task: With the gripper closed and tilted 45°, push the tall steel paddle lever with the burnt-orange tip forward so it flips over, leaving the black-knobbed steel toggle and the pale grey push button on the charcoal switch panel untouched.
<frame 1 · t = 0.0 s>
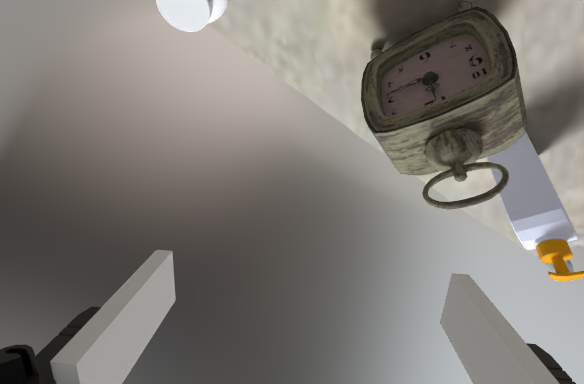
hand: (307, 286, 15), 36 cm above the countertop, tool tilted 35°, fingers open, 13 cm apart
tabletop clock: (423, 46, 43), on the countertop
soap bottle: (512, 148, 56), on the countertop
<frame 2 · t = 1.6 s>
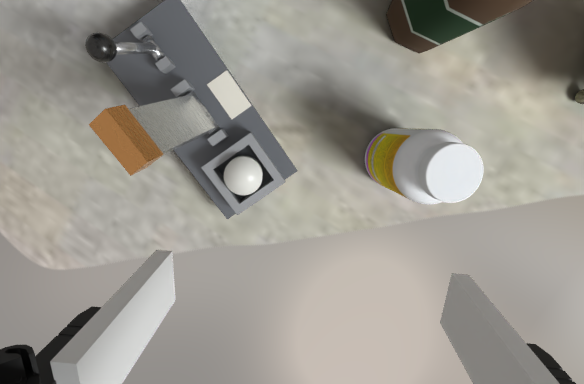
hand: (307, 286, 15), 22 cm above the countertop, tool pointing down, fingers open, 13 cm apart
supplement bottle: (390, 157, 38), on the countertop
toggle switch: (128, 48, 27), point 7 cm above the countertop, hinge at -20.0°
switch panel: (208, 115, 35), on the countertop
paddle lever: (170, 124, 26), point 9 cm above the countertop, hinge at -20.0°
beer bottle: (418, 16, 35), on the countertop
push button: (243, 174, 31), point 5 cm above the countertop, slide at 0.0 cm
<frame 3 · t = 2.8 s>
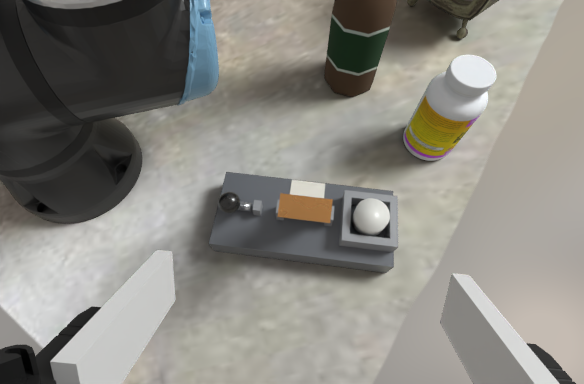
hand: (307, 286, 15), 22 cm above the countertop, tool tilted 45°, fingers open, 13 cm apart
tabletop clock: (443, 15, 57), on the countertop
supplement bottle: (425, 142, 45), on the countertop
toggle switch: (236, 204, 33), point 7 cm above the countertop, hinge at -20.0°
switch panel: (303, 225, 40), on the countertop
paddle lever: (304, 211, 31), point 9 cm above the countertop, hinge at -20.0°
beer bottle: (348, 79, 50), on the countertop
push button: (370, 217, 35), point 5 cm above the countertop, slide at 0.0 cm
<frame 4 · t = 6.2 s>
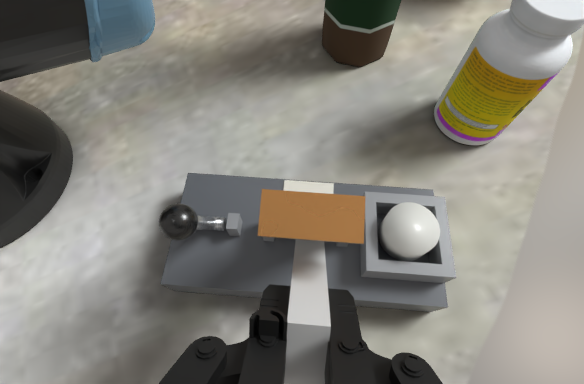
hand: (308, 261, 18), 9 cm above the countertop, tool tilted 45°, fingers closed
supplement bottle: (464, 122, 33), on the countertop
toggle switch: (196, 222, 21), point 7 cm above the countertop, hinge at -20.0°
switch panel: (304, 245, 27), on the countertop
paddle lever: (308, 225, 18), point 9 cm above the countertop, hinge at -16.9°, touching gripper
beer bottle: (353, 46, 38), on the countertop
push button: (407, 231, 22), point 5 cm above the countertop, slide at 0.0 cm
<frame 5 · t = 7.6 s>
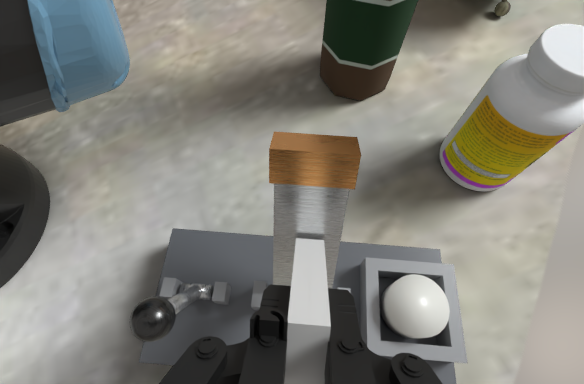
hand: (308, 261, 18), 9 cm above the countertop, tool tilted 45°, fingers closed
supplement bottle: (471, 163, 31), on the countertop
toggle switch: (177, 303, 18), point 7 cm above the countertop, hinge at -20.0°
switch panel: (299, 306, 25), on the countertop
paddle lever: (306, 239, 18), point 9 cm above the countertop, hinge at 29.3°, touching gripper
beer bottle: (353, 76, 36), on the countertop
push button: (413, 306, 20), point 5 cm above the countertop, slide at 0.0 cm
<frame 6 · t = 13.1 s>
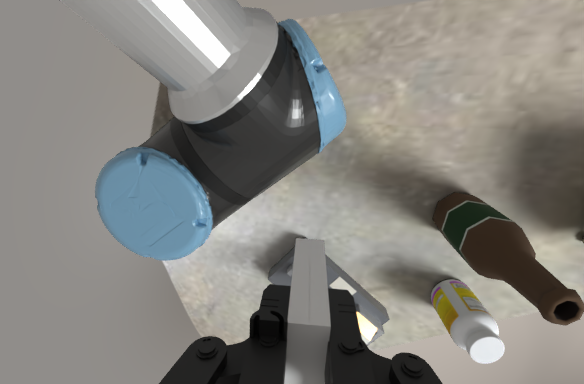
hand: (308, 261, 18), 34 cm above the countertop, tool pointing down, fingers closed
supplement bottle: (448, 293, 57), on the countertop
switch panel: (328, 289, 58), on the countertop
paddle lever: (343, 312, 49), point 9 cm above the countertop, hinge at 29.4°
beer bottle: (455, 213, 52), on the countertop
push button: (359, 332, 54), point 5 cm above the countertop, slide at 0.0 cm
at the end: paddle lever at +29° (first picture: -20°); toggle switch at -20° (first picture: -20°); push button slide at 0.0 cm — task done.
